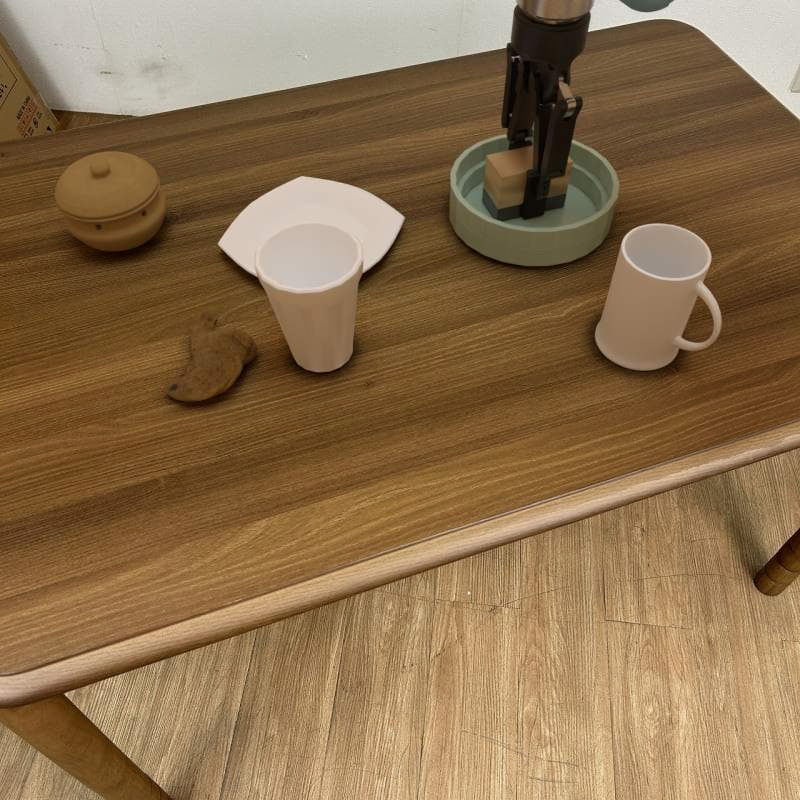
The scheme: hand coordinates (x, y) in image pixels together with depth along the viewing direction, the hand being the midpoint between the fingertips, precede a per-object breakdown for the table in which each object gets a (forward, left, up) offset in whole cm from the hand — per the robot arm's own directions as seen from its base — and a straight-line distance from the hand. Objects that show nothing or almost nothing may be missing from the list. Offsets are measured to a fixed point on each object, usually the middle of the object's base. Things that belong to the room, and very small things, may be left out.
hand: (523, 201), depth 91 cm
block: (0, 0, 0) cm, 0 cm away
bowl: (-1, +1, -1) cm, 2 cm away
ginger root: (+17, +40, -1) cm, 44 cm away
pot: (+40, +28, -1) cm, 49 cm away
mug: (-21, +15, -1) cm, 26 cm away
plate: (+19, +18, -1) cm, 26 cm away
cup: (+8, +32, -1) cm, 33 cm away
